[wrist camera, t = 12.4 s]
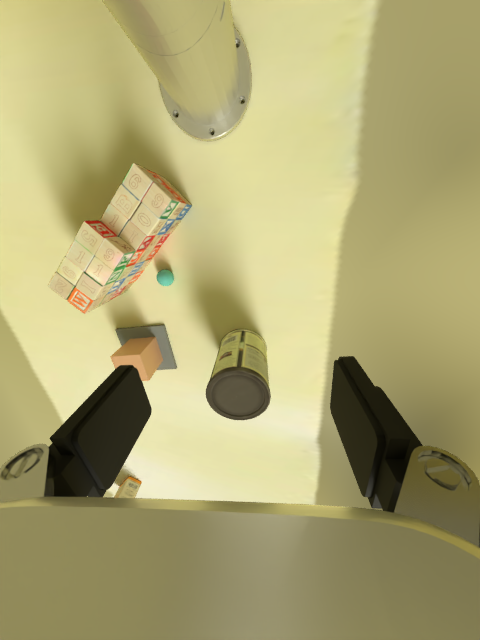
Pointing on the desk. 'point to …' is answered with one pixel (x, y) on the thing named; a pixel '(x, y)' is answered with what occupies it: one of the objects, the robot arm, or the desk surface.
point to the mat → (151, 331)
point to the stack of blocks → (119, 240)
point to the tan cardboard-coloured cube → (139, 356)
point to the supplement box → (128, 488)
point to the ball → (165, 277)
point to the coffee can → (240, 377)
